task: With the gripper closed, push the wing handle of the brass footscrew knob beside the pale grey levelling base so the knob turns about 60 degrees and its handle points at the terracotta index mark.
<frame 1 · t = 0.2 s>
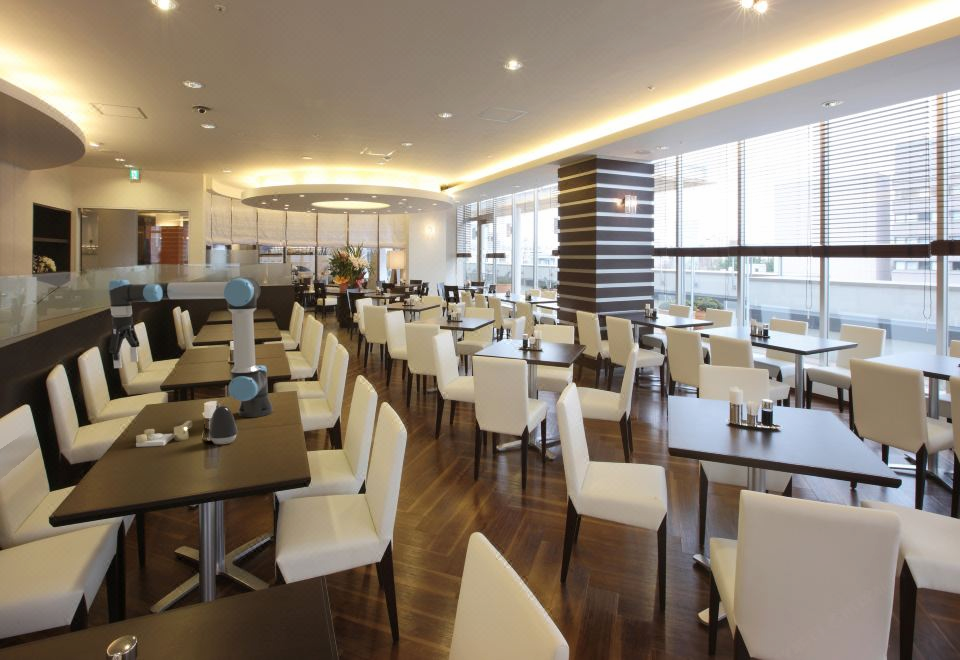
hand: (126, 364, 234), 28 cm above the table, fingers open, 13 cm apart
dark grey egg-shaped device: (224, 443, 217), on the table
levelling base: (155, 443, 216), on the table
footscrew knob: (184, 430, 223), point 3 cm above the table, hinge at 0.0°
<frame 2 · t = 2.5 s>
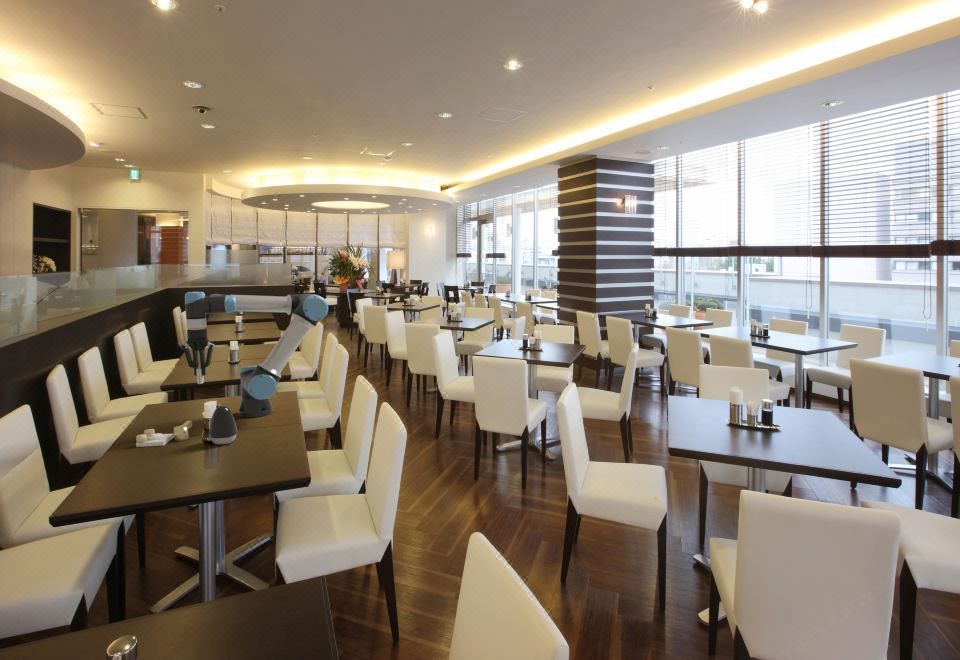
hand: (200, 383, 231), 20 cm above the table, fingers closed
nothing on the table moved.
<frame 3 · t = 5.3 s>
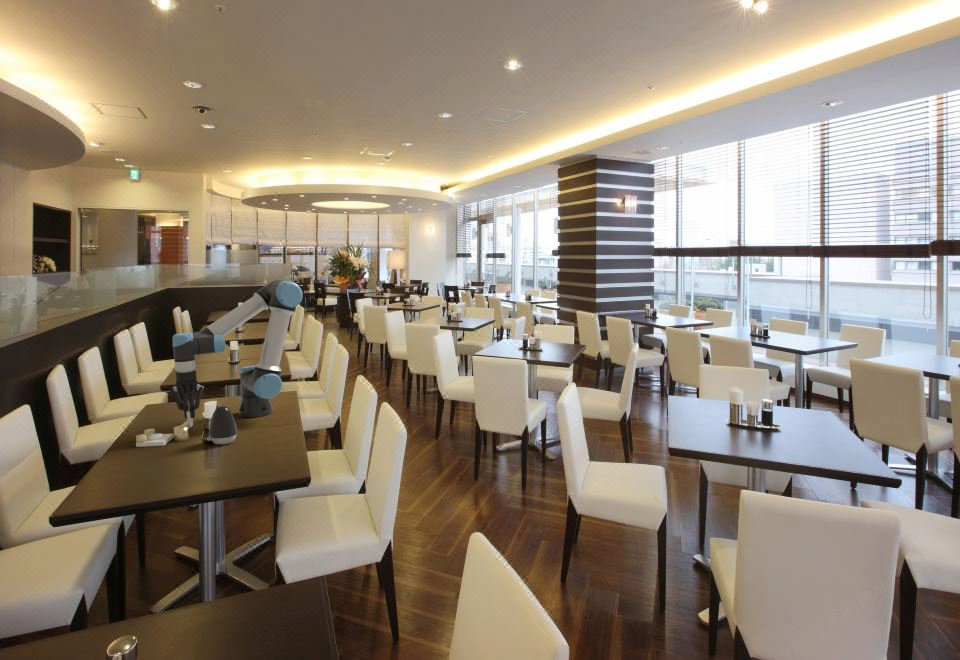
hand: (190, 425, 227), 4 cm above the table, fingers closed
footscrew knob: (184, 430, 223), point 3 cm above the table, hinge at 2.0°, touching gripper
everything else where it was.
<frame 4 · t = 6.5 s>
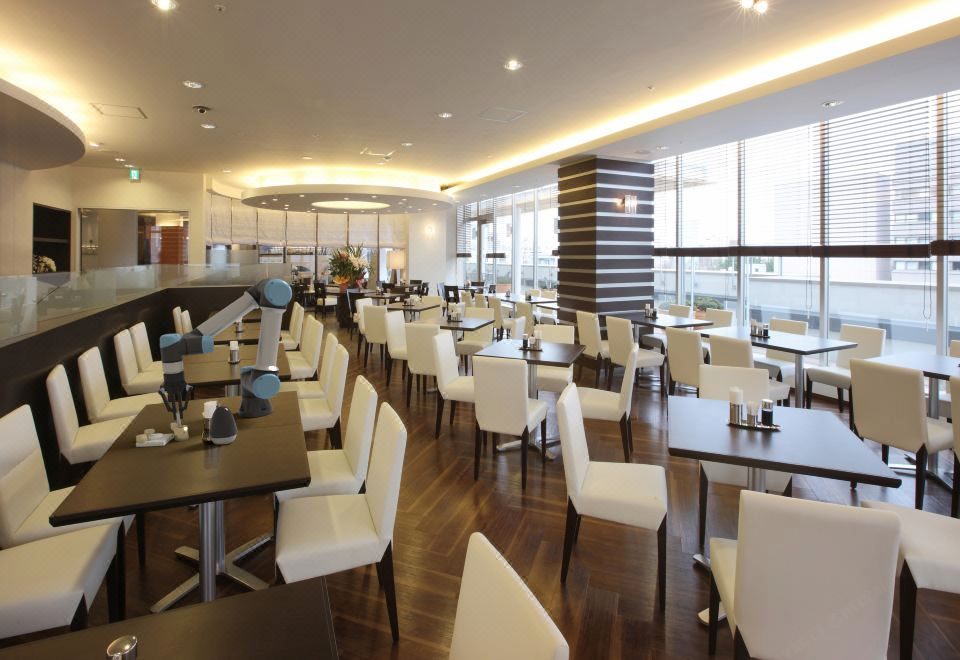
hand: (179, 426, 225), 4 cm above the table, fingers closed
footscrew knob: (178, 431, 222), point 3 cm above the table, hinge at 37.9°, touching gripper
everything else where it was.
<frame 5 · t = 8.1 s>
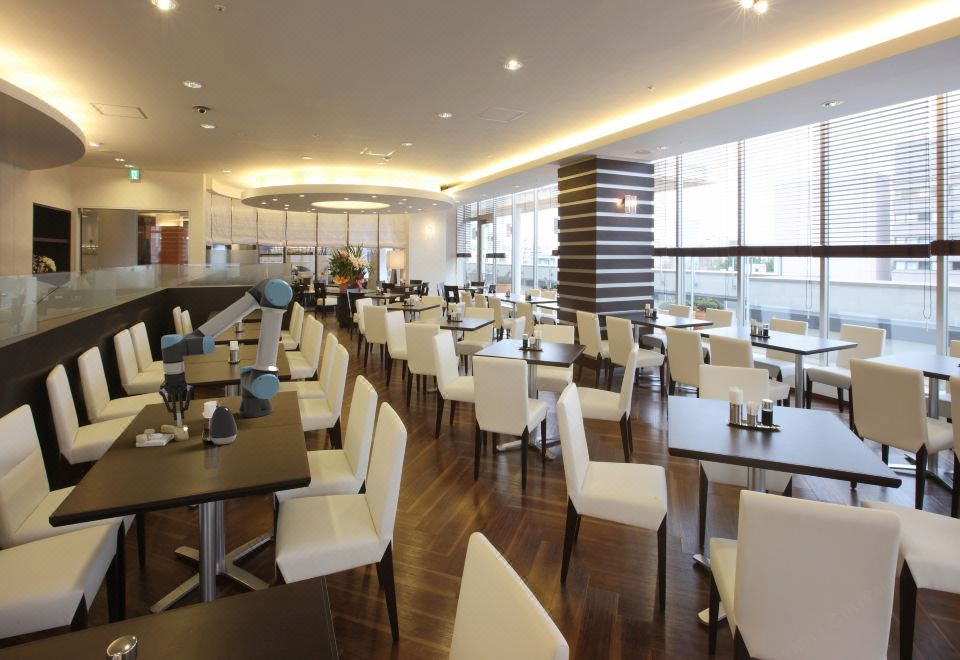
hand: (179, 427, 226), 3 cm above the table, fingers closed
footscrew knob: (174, 432, 220), point 3 cm above the table, hinge at 62.9°
everything else where it was.
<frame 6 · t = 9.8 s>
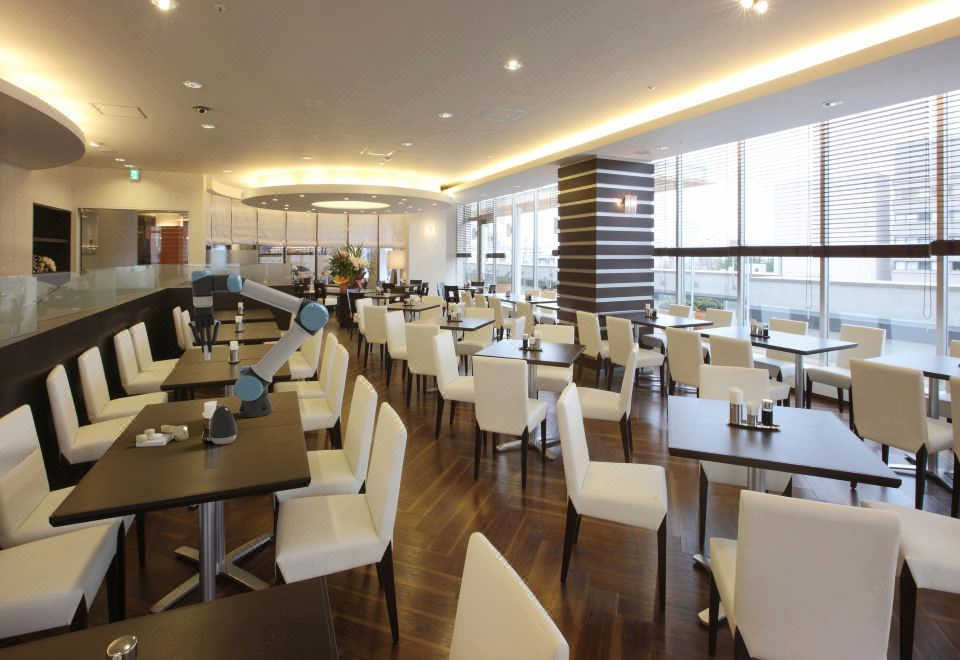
hand: (207, 359, 237), 29 cm above the table, fingers closed
nothing on the table moved.
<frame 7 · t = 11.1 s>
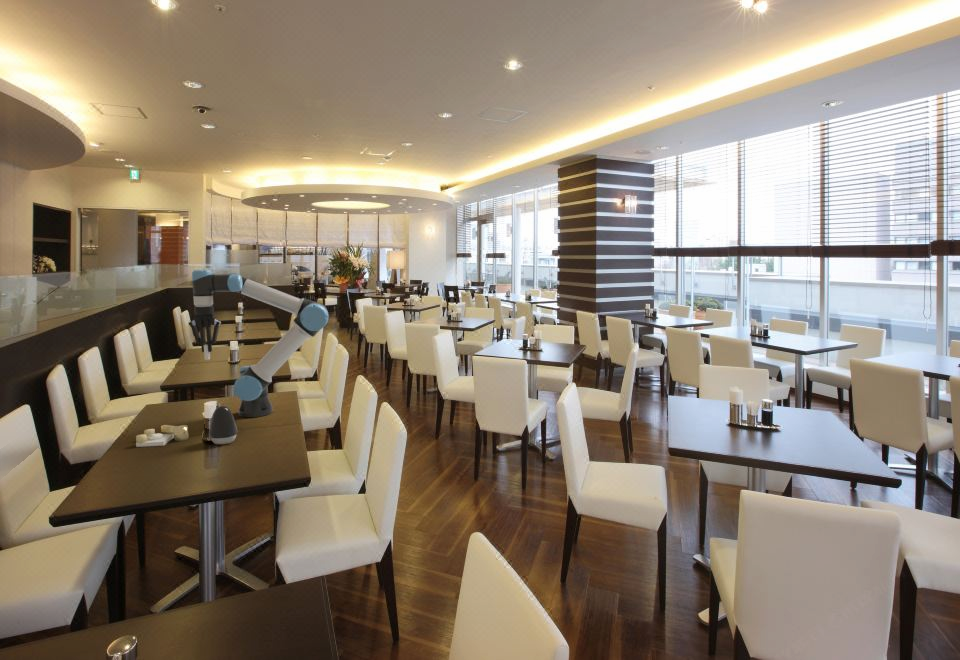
hand: (207, 359, 237), 29 cm above the table, fingers closed
nothing on the table moved.
at the end: footscrew knob at +63° (first picture: +0°); dark grey egg-shaped device moved 0.2 cm from its start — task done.
